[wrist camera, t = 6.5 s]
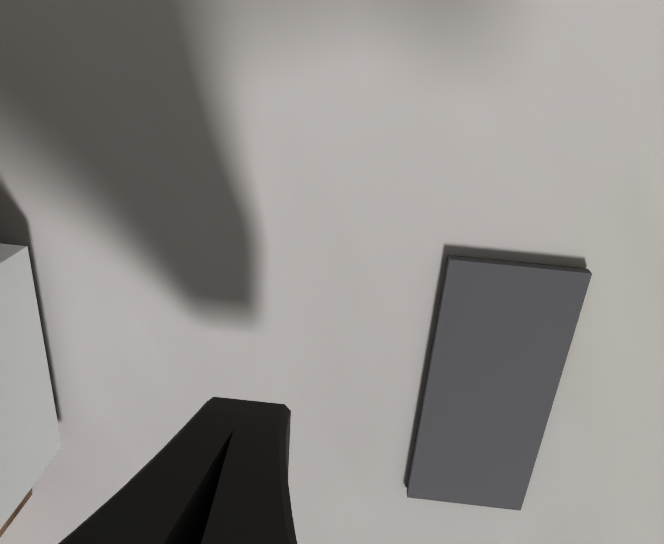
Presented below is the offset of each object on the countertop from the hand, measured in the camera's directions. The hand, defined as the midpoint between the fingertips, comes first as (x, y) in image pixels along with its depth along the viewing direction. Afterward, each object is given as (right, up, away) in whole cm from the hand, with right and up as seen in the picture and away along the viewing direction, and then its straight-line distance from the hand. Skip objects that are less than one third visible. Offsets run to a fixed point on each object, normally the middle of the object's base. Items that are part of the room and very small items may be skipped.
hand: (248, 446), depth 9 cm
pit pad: (+5, 0, +2) cm, 5 cm away
